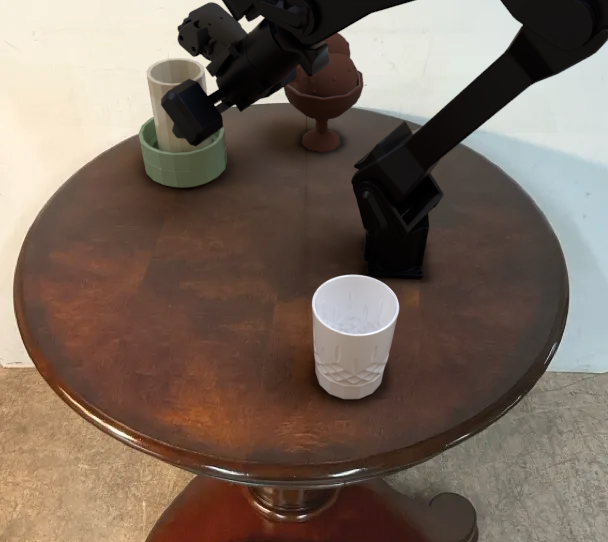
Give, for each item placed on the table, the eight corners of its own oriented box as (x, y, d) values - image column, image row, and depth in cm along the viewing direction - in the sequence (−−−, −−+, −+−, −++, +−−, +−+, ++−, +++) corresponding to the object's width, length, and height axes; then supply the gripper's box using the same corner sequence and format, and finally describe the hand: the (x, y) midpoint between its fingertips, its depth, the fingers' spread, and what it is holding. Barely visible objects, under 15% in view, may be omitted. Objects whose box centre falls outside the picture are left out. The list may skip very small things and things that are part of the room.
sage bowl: (232, 146, 98) (229, 111, 94) (220, 193, 90) (216, 156, 86) (155, 143, 98) (149, 107, 94) (137, 189, 91) (130, 152, 87)
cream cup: (223, 167, 94) (214, 74, 84) (176, 183, 91) (162, 90, 81) (197, 143, 97) (187, 52, 88) (152, 159, 95) (136, 67, 85)
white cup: (382, 411, 67) (393, 341, 60) (303, 397, 68) (304, 327, 61) (392, 351, 72) (403, 280, 65) (318, 339, 73) (320, 268, 66)
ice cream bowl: (273, 128, 101) (271, 24, 90) (345, 117, 104) (351, 14, 93) (294, 167, 95) (294, 61, 84) (370, 154, 97) (380, 49, 86)
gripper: (274, -40, 78) (208, 34, 90) (160, 17, 67) (103, 92, 80) (331, 48, 80) (259, 108, 93) (230, 116, 70) (164, 173, 82)
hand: (200, 118), depth 87 cm, fingers open, 9 cm apart
